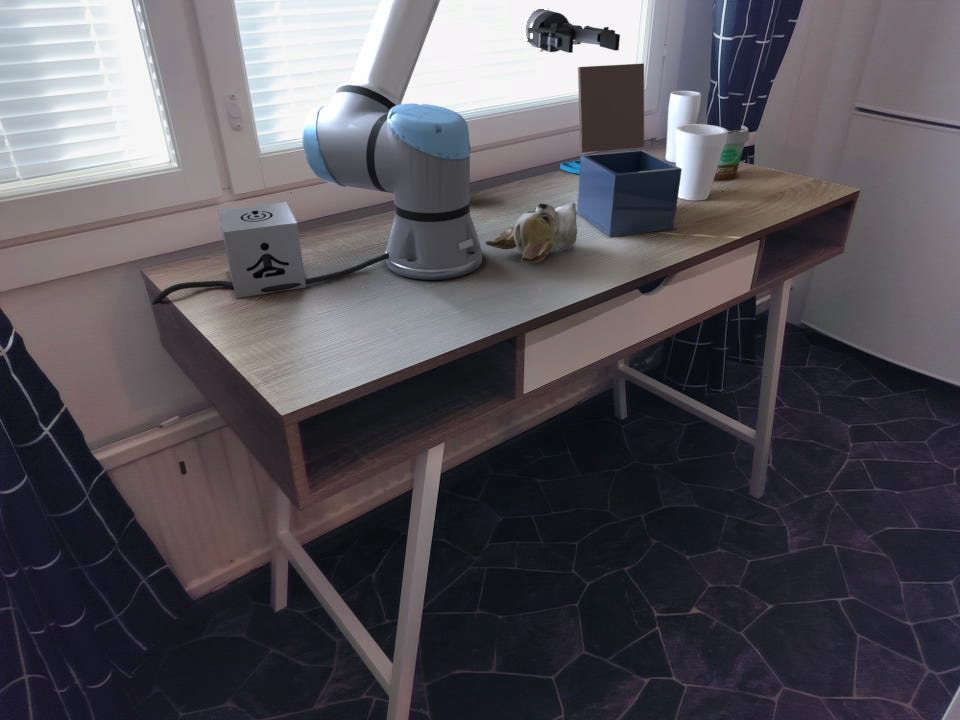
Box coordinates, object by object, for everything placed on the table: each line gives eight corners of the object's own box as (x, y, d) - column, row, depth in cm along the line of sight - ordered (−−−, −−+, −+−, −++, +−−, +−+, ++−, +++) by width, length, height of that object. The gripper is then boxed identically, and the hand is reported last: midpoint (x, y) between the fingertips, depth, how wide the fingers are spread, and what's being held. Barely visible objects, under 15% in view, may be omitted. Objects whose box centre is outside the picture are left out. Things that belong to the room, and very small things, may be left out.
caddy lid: (644, 63, 127) (641, 63, 128) (579, 66, 124) (577, 67, 125) (644, 147, 132) (642, 147, 133) (582, 152, 129) (580, 152, 129)
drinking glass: (689, 157, 169) (698, 90, 161) (693, 165, 163) (704, 96, 155) (660, 156, 169) (668, 90, 162) (663, 164, 163) (672, 95, 156)
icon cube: (229, 272, 111) (217, 210, 106) (294, 263, 114) (286, 202, 109) (236, 298, 103) (223, 232, 98) (306, 287, 106) (297, 222, 101)
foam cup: (721, 203, 139) (733, 135, 133) (673, 203, 139) (683, 135, 133) (709, 188, 147) (719, 124, 141) (664, 188, 148) (672, 123, 141)
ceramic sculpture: (597, 201, 112) (523, 226, 105) (595, 252, 117) (524, 279, 110) (553, 185, 120) (481, 207, 113) (553, 233, 124) (484, 258, 117)
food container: (706, 184, 150) (714, 136, 145) (689, 176, 155) (696, 129, 150) (754, 178, 154) (763, 130, 149) (735, 171, 159) (744, 124, 154)
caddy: (673, 229, 127) (682, 168, 121) (609, 237, 124) (615, 175, 118) (636, 205, 138) (642, 149, 133) (576, 212, 135) (580, 155, 129)
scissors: (580, 158, 163) (643, 181, 149) (580, 163, 164) (642, 185, 149) (557, 163, 160) (619, 186, 146) (557, 167, 161) (618, 191, 146)
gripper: (592, 48, 154) (644, 62, 136) (499, 52, 148) (539, 68, 130) (595, 9, 150) (648, 19, 132) (499, 12, 145) (541, 23, 126)
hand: (594, 43), depth 131 cm, fingers open, 9 cm apart
